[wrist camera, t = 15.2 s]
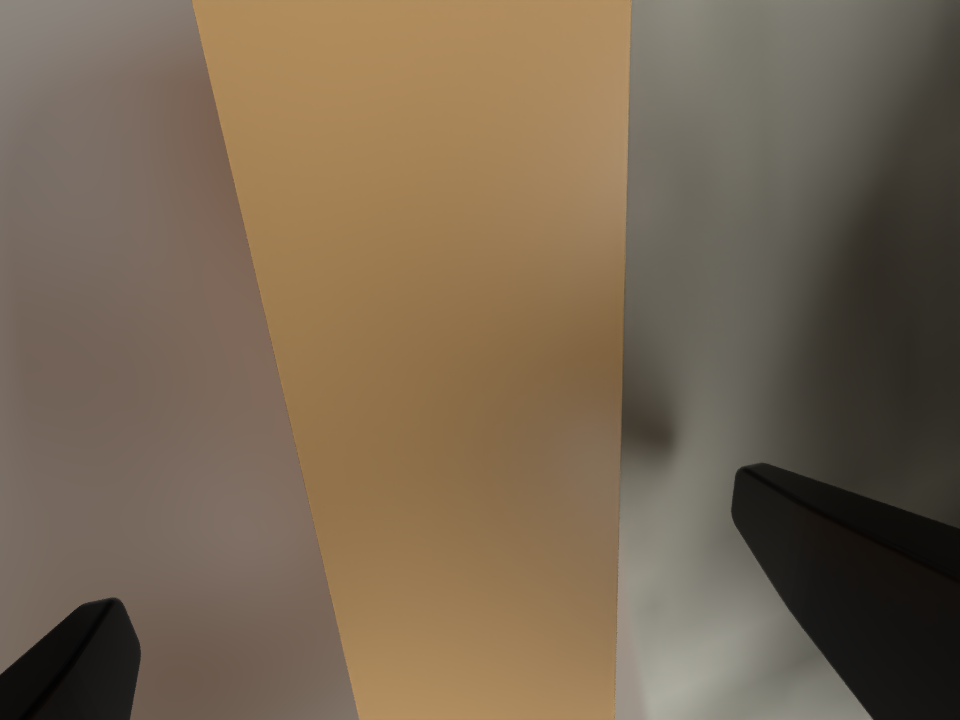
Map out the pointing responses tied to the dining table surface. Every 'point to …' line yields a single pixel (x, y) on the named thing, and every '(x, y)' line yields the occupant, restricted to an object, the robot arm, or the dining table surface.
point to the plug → (445, 328)
